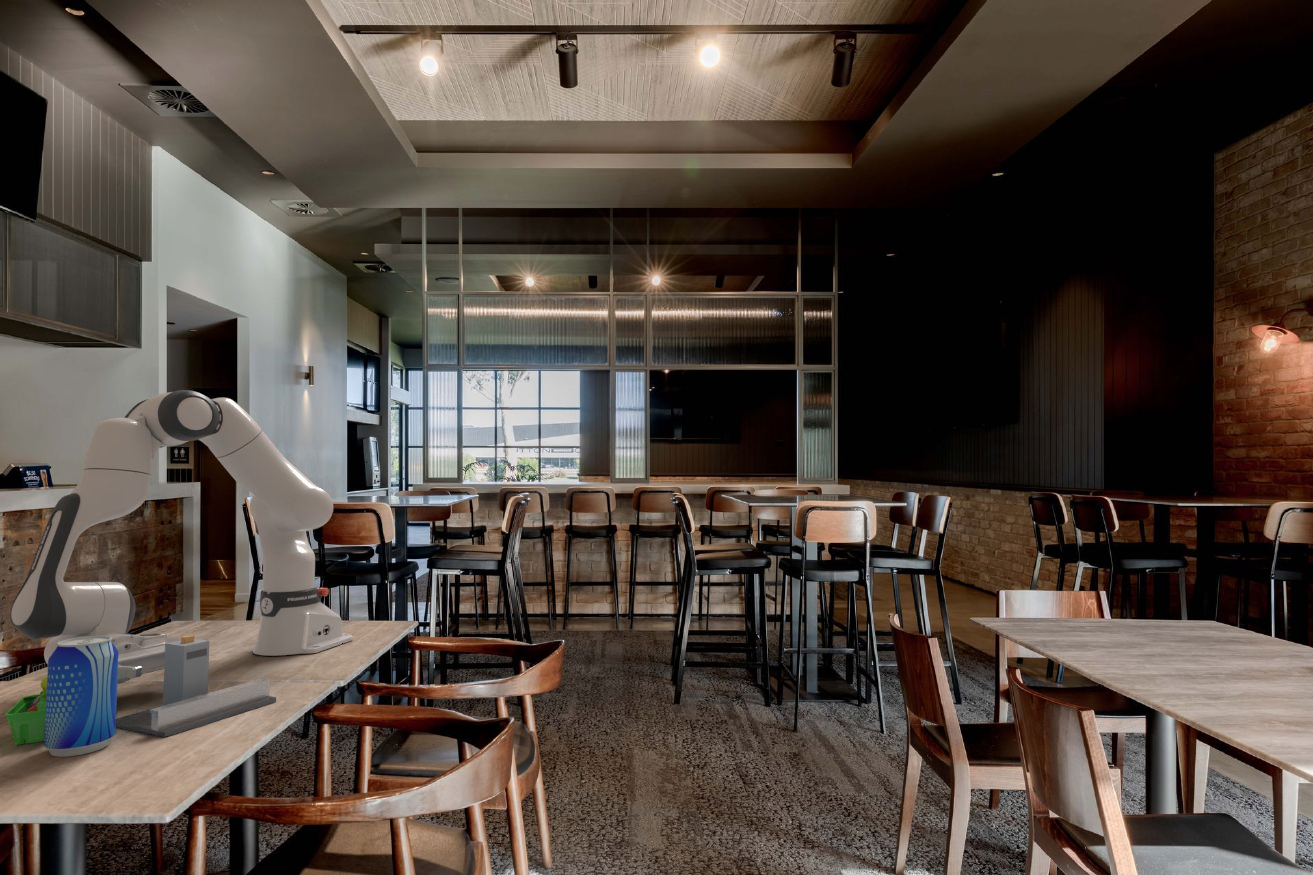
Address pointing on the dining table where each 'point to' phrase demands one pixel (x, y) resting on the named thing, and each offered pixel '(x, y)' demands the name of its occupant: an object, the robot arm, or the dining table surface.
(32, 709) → the fruit basket
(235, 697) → the rail plate
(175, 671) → the module
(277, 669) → the dining table surface
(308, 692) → the dining table surface
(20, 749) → the dining table surface
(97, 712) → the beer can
